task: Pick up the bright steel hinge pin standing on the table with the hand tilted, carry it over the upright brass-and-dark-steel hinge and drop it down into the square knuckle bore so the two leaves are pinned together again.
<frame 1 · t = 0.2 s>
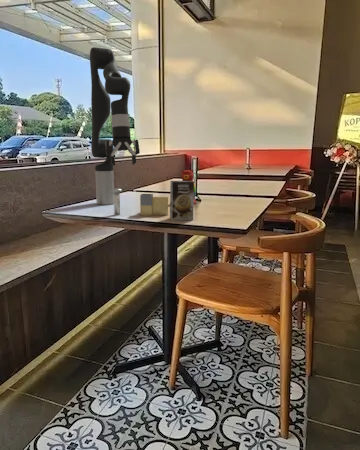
hand: (123, 165, 158), 22 cm above the table, tool pointing down, fingers open, 8 cm apart
coffee box: (181, 219, 155), on the table
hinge: (146, 214, 165), on the table
stacking bear: (186, 203, 200), on the table
pin: (117, 214, 163), on the table
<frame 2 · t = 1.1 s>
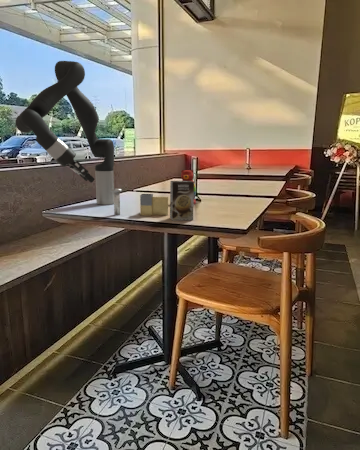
hand: (90, 180, 155), 16 cm above the table, tool tilted 45°, fingers open, 8 cm apart
nothing on the table moved.
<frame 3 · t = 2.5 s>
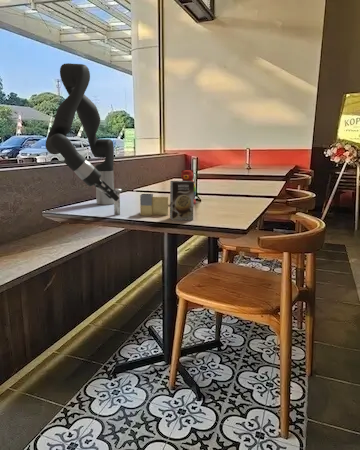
hand: (114, 198, 161), 7 cm above the table, tool tilted 45°, fingers open, 8 cm apart
nothing on the table moved.
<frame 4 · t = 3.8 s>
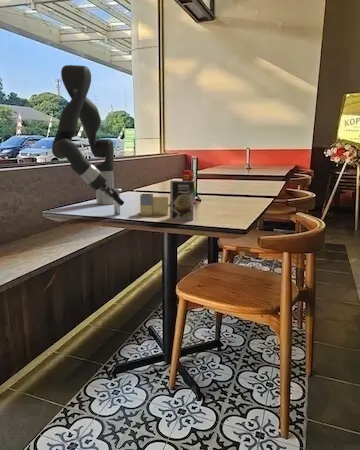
hand: (121, 203, 163), 5 cm above the table, tool tilted 45°, fingers closed on pin, 2 cm apart
pin: (117, 214, 163), on the table, touching gripper
everything else where it was.
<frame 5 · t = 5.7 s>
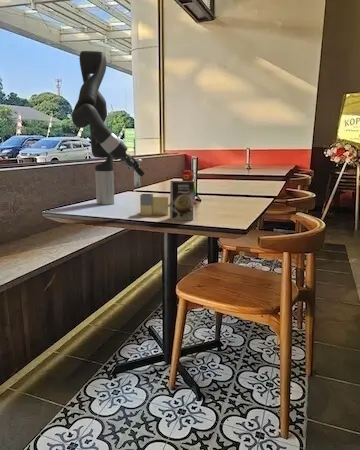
hand: (141, 174, 161), 18 cm above the table, tool tilted 45°, fingers closed on pin, 2 cm apart
pin: (137, 186, 161), point 13 cm above the table, touching gripper
everything else where it was.
when the fingers open (12 cm above the table, at t = 7.6 s): pin drops 1 cm, point 6 cm above the table.
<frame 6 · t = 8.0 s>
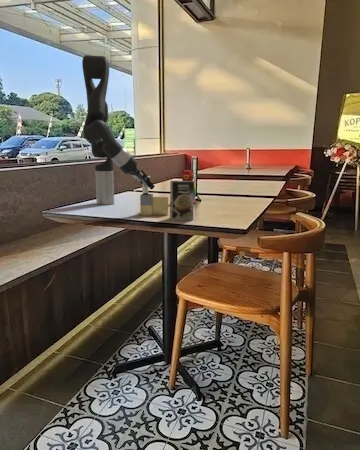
hand: (150, 187, 163), 12 cm above the table, tool tilted 45°, fingers open, 6 cm apart
pin: (145, 202, 164), point 6 cm above the table, touching gripper
everything else where it was.
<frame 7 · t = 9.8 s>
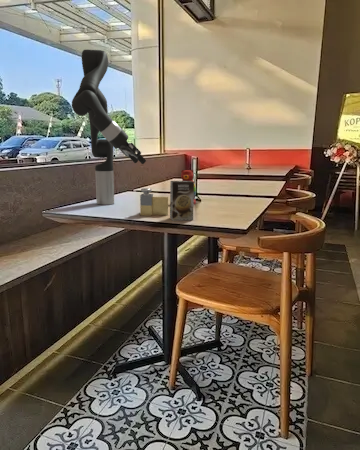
hand: (140, 162, 158), 23 cm above the table, tool tilted 45°, fingers open, 8 cm apart
pin: (146, 214, 165), resting in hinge
everything else where it was.
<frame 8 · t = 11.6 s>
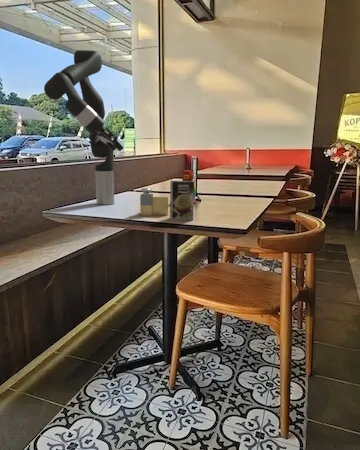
hand: (118, 149, 153), 29 cm above the table, tool tilted 45°, fingers open, 8 cm apart
nothing on the table moved.
at the end: pin 0.4 cm off-centre on the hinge, point 0.0 cm above the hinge's base; pin tilted 0°; the gripper is holding nothing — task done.
